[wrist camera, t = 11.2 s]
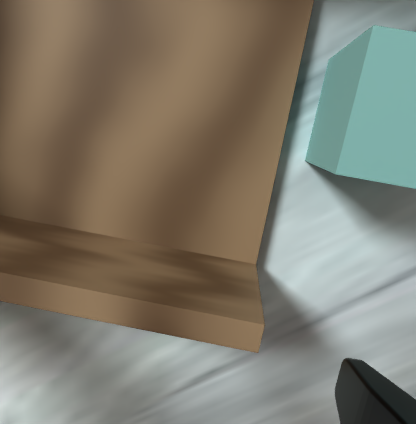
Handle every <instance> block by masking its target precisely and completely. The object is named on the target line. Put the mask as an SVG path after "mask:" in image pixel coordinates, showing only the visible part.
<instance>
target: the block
mask: <svg viewBox="0 0 416 424" xmlns="http://www.w3.org/2000/svg"><path fill="white" fill-rule="evenodd" d="M305 161H306V162H309V163H311V164H313V165H316V166H318V167H320V168H322V169H325V170H327V171H329V172H331V173H334V174H337V175H342V176H348V177H353V178H359V179H364V180H370V181H375V182H381V183H387V184H392V185H398V186H403V187H409V188H414V189H416V32H413V31H406V30H400V29H394V28H388V27H382V26H376V25H373V26H372V27H371V28H369V29H368V30H367V31H365V32H364V33H363V34H361V35H360V36H359V37H358V38H356V39H355V40H354V41H352V42H351V43H350V44H349V45H347V46H346V47H345V48H343V49H342V50H341V51H339V52H338V53H337V54H336V55H334V56H333V57H332V58H330V59H329V61H328V65H327V69H326V74H325V78H324V82H323V86H322V91H321V95H320V99H319V104H318V108H317V112H316V116H315V121H314V125H313V129H312V133H311V138H310V142H309V146H308V150H307V155H306V159H305Z"/></svg>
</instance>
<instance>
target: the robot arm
mask: <svg viewBox="0 0 416 424" xmlns="http://www.w3.org/2000/svg"><path fill="white" fill-rule="evenodd" d="M335 399H336V404H337V409H338V414H339V419H340V424H416V399H414V398H413V397H411V396H410V395H409V394H407V393H406V392H405V391H403V390H402V389H401V388H399V387H398V386H397V385H395V384H394V383H392V382H391V381H390V380H388V379H387V378H386V377H384V376H383V375H382V374H380V373H379V372H377V371H376V370H375V369H373V368H372V367H371V366H369V365H368V364H367V363H365V362H364V361H362V360H358V359H352V358H345V359H344V360H343V362H342V364H341V368H340V371H339V375H338V379H337V383H336V387H335Z"/></svg>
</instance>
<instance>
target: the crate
mask: <svg viewBox="0 0 416 424" xmlns="http://www.w3.org/2000/svg"><path fill="white" fill-rule="evenodd" d="M313 2H314V0H0V301H3V302H8V303H13V304H18V305H23V306H28V307H33V308H38V309H43V310H48V311H53V312H58V313H62V314H67V315H72V316H77V317H82V318H87V319H92V320H97V321H102V322H107V323H112V324H117V325H122V326H127V327H132V328H137V329H142V330H147V331H152V332H157V333H162V334H167V335H172V336H176V337H181V338H186V339H191V340H196V341H201V342H206V343H211V344H216V345H221V346H226V347H231V348H236V349H241V350H246V351H251V352H256V353H258V352H259V347H260V343H261V339H262V335H263V330H264V326H265V323H264V316H263V309H262V302H261V295H260V288H259V281H258V274H257V268H256V262H257V258H258V253H259V249H260V244H261V239H262V235H263V230H264V226H265V221H266V217H267V212H268V207H269V203H270V198H271V194H272V189H273V185H274V180H275V176H276V171H277V166H278V162H279V157H280V153H281V148H282V144H283V139H284V135H285V130H286V125H287V121H288V116H289V112H290V107H291V103H292V98H293V93H294V89H295V84H296V80H297V75H298V71H299V66H300V62H301V57H302V52H303V48H304V43H305V39H306V34H307V30H308V25H309V21H310V16H311V11H312V7H313Z"/></svg>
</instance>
